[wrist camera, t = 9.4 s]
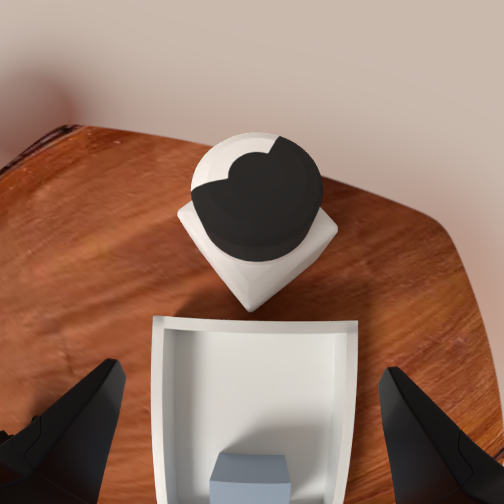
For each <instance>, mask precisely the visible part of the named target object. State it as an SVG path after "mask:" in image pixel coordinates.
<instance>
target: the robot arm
mask: <svg viewBox="0 0 504 504" xmlns="http://www.w3.org/2000/svg"><path fill="white" fill-rule="evenodd" d="M125 381H126V376H125V373H124V370H123V368H122V366H121V364H120V362H119V361H118V360H117V359H111V358H108V359H106V360H104V361H103V362H102V363H101V364H100V365H99V366H97V367H96V368H95V369H94V370H93V371H91V372H90V373H89V374H88V375H87V376H86V377H84V378H83V379H82V380H81V381H80V382H78V383H77V384H76V385H75V386H74V387H73V388H71V389H70V390H69V391H68V392H67V393H66V394H64V395H63V396H62V397H61V398H60V399H59V400H57V401H56V402H55V403H54V404H53V405H52V406H50V407H49V408H48V409H47V410H46V411H45V412H43V413H42V414H41V416H39V417H37V418H36V419H35V420H34V421H33V422H32V423H30V424H29V425H28V426H27V427H25V428H24V429H23V430H21V431H20V432H19V433H17V434H16V435H14V436H13V437H12V438H10V439H9V440H7V441H6V442H4V443H3V444H1V445H0V504H97V502H98V497H99V492H100V488H101V483H102V479H103V475H104V471H105V467H106V463H107V459H108V455H109V451H110V447H111V443H112V440H113V436H114V432H115V429H116V425H117V422H118V418H119V413H120V408H121V402H122V397H123V391H124V386H125ZM378 389H379V397H380V407H381V417H382V425H383V431H384V436H385V441H386V446H387V451H388V456H389V462H390V467H391V473H392V479H393V486H394V493H395V500H396V504H504V467H503V466H502V465H501V464H500V463H498V462H497V461H496V460H495V459H493V458H492V457H491V456H490V455H488V454H487V453H486V452H485V451H484V450H482V449H481V448H480V447H479V446H478V445H477V444H475V443H474V442H473V441H472V440H471V439H470V438H469V437H468V436H467V435H466V434H465V433H464V432H463V431H462V430H460V428H459V427H458V426H457V425H456V424H455V423H454V422H453V421H452V420H451V419H450V418H449V417H448V416H447V415H446V414H445V413H444V412H443V411H442V410H441V409H440V408H439V407H438V406H437V405H436V404H435V403H434V402H433V401H432V400H431V399H430V398H429V397H428V396H427V395H426V394H425V393H424V392H423V391H422V390H421V389H420V388H419V387H418V386H417V385H416V384H415V383H414V382H413V381H412V380H411V379H410V378H409V377H408V376H407V375H406V374H405V373H404V372H403V371H402V370H401V369H400V368H399V367H397V366H394V367H387V368H386V369H385V371H384V373H383V375H382V377H381V379H380V381H379V384H378Z"/></svg>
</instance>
